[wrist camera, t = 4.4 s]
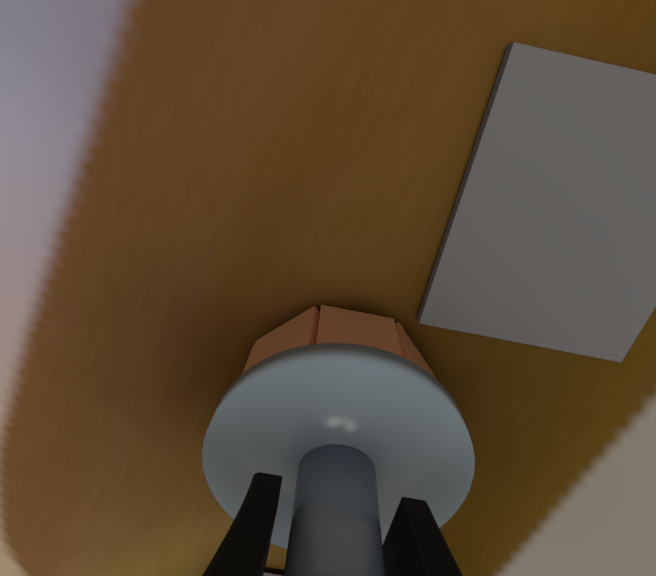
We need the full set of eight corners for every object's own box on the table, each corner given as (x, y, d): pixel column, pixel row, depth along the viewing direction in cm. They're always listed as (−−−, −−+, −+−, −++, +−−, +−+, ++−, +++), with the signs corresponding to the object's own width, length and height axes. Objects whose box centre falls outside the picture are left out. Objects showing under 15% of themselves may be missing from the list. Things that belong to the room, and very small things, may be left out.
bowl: (400, 466, 16) (411, 539, 13) (240, 437, 16) (218, 507, 13) (452, 329, 13) (480, 386, 10) (260, 292, 13) (238, 340, 10)
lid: (416, 551, 13) (443, 714, 10) (198, 508, 13) (141, 663, 9) (510, 378, 10) (601, 523, 7) (228, 313, 10) (160, 431, 6)
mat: (613, 355, 13) (621, 362, 13) (416, 317, 13) (418, 323, 13) (765, 103, 10) (781, 103, 10) (507, 45, 10) (514, 42, 9)
